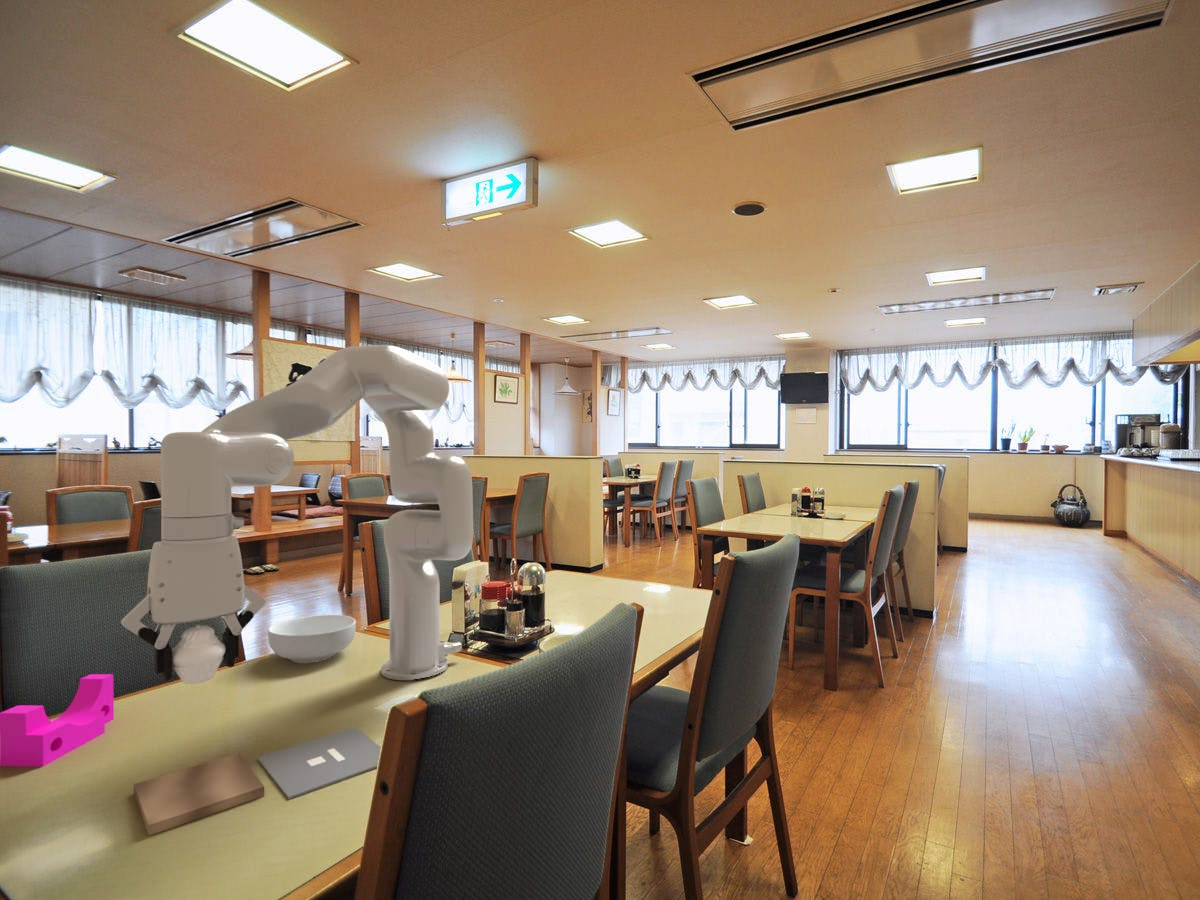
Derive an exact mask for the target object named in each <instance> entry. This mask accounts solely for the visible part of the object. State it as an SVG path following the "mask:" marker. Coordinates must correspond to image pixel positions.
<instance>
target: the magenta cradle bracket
mask: <svg viewBox="0 0 1200 900" xmlns="http://www.w3.org/2000/svg"><path fill="white" fill-rule="evenodd" d="M114 693H115V692H114V674H109V673H107V674H104V673H103V674H99V673H98V674H97V673H95V674H93V673H91V674H89V675H86V676H83V677H81V678H80V679H79V684H78V689H77V691H76V695H75V696H74V698H73V700H72V701H71V703H70V705H69V706H68V707H67V708H66V709H65V711H64V712H63V713H62V714H61V715H60V716H58V717H56V718H55V719H54V720H51V719H50V718H49V717H48V716H47V714H46V711H45V709H44V708H45V707H44V705H35V704H34V705H27V704H26V705H21V704H20V705H19V704H18V705H15V706H14V707H11V708H8V709H5V710H4V711H1V712H0V767H1V766H2V767H41V766H44V767H45V766H47V765H49V764H50V763H52V762H54V761H56V760H59V758H62V757H64V756H65V755H67V754H69V753H71V752H72V751H74V750H76V749H78V748H80V747H82V746H83V745H86V744H87V743H89V742H90V741H93V740H95V739H96V738H98V737H100V736H102V735H103V733H104V734H105V733H106V725H107V724H108V723H110V722H112V721H113V719H114V720H115V718H114V717H115V715H114V714H115V711H114V710H115V709H114V707H115V706H114V703H115V702H114V695H115V694H114ZM111 720H112V721H111ZM94 738H95V739H94ZM81 745H82V746H81Z"/></svg>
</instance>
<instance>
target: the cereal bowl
mask: <svg viewBox="0 0 1200 900" xmlns="http://www.w3.org/2000/svg"><path fill="white" fill-rule="evenodd" d="M356 626H357V622H356V619H355V618H354V617H352V616H348V615H343V614H320V615H319V614H318V615H309V616H302V617H295V618H291V619H288V620H284V621H281V622H280V621H279V622H277V623H275V624H272V625H271V626H269V628H268V630H267V639H268V644H269V647H270V649H271V650H272V652H273V653H275V654H276V655H277V656H279V657H281V658H285V659H288V660H291V661H292V662H293V661H294V662H293V663H296V664H312V663H311V662H314V663H318V662H317V661H320V662H322V661H321V660H324V659H327V658H329V659H331V658H332V657H333V656H334V655H335V654H338V653H339V652H341V651H344V650H345V649H346V648H347V647H349V646H350V644H351V643H352V642H353V640H354V638H355V634H356ZM331 656H332V657H331ZM330 657H331V658H330ZM327 660H328V659H327ZM324 661H325V660H324Z"/></svg>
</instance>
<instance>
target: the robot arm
mask: <svg viewBox="0 0 1200 900" xmlns="http://www.w3.org/2000/svg"><path fill="white" fill-rule="evenodd" d="M448 379H449V378H448V376H447V375H446V373H445V372H444V370H443V369H442V368H441V367H440V366H439V365H438V364H436V363H434V362H432V361H430V360H428V359H426V358H424V357H421V356H419V354H418V355H417V354H415V353H413V352H412V351H409V350H407V349H404V348H402V347H400V346H396V345H392V344H376V345H375V344H374V345H371V344H370V345H357V346H356V345H355V346H348V347H344V348H341V349H338V350H336V351H335V352H333V353H332V354H330V355H329V356H328V357H326V358H325V359H324V360H322V361H321V362H319V363H318V364H317V365H316V366H314V367H313V368H312V369H311V370H309V371H308V372H307V373H305V374H304V375H302V376H301V377H300V378H299V379H297V380H296V381H294V382H293V383H291V384H289V385H287V386H285V387H282V388H279V389H277V390H275V391H273V392H271V393H269V394H266V395H263V396H261V397H259V398H257V399H254V400H252V401H249V402H247V403H245V404H242V405H241V406H239V407H236V408H235V409H232V410H230V411H229V412H227V413H226V414H224V415H222V416H221V417H219V418H218V419H216V420H215V421H214V422H212V423H211V424H210V425H208V426H207V427H206V428H204V429H202V430H201V431H176V432H171V433H168V434H166V435H164V436H163V438H162V440H161V444H160V482H161V483H160V494H161V495H160V500H161V501H160V502H161V508H160V509H161V510H160V511H161V515H160V516H161V522H160V523H161V525H160V526H161V527H160V528H161V529H160V530H161V531H160V533H161V534H160V535H161V536H160V537H161V539H160V540H161V541H155V542H154V543H153V545H152V547H151V548H152V550H151V552H150V559H149V565H148V566H149V567H148V572H147V573H148V576H147V592H146V596H145V597H144V598H143V599H141V601H139V602H138V603H137V604H136V605H135V607H134V608H132V609H131V610H130V611H129V612H128V613H127V614H126V615H125V616H123V618H121V622H120V623H121V625H122V627H124V628H125V629H126V630H128V631H130V632H131V633H133V634H135V635H136V636H137V637H139V638H140V639H142V640H144V641H145V642H147V643H148V644H149V645H151V646H152V647H154V673H155V674H156V675H159V674H160V677H161V678H162V679H163V681H164V682H169V681H171V679H172V678H173V667H172V649H173V648H172V647H171V646H170V642H169V640H170V638H171V636H172V634H173V631H174V629H175V626H176V625H178V624H184V623H185V624H186V623H190V622H191V623H192V622H198V621H203V620H204V621H205V620H209V619H215V618H221V620H222V622H223V624H224V626H225V629H224V631H223V633H222V634H221V639H222V640H221V641H222V642H223V643H224V644H225V646H226V651H225V654H224V655H223V660H222V663H223V664H224V665H225V666H226V667H227V668H234V667H235V659H236V658H239V657H240V654H239V653H240V640H239V639H240V636H239V635H240V634H242V632H243V629H244V628H245V627H246V626H247V625H248V624H249V623H250V622H251V621H252V620H253V619H254V616H255V615H257V614H258V612H259V611H260V610H261V609H263V608H264V606H265V605H266V602H267V601H266V599H265V598H264V597H262V596H260V594H258V592H255V591H254V589H251V588H250V587H249V586H248V585H246V584H245V577H244V568H243V561H242V560H243V559H242V554H241V548H240V544H239V540H238V537H237V536H235V535H233V534H234V531H235V530H236V529H239V528H243V527H245V518H244V517H241V516H240V517H238V516H234V514H233V513H232V486H240V487H266V486H271V485H275V484H278V483H280V482H281V481H283V480H285V478H286V477H288V476H289V474H290V473H291V471H292V469H293V467H294V463H295V453H294V450H293V448H292V446H291V445H290V444H289V442H288V441H287V440H292V439H296V438H300V437H301V438H302V437H307V436H309V435H312V434H316V433H319V432H322V431H324V430H327V429H328V428H330V427H332V426H333V425H334V424H336V422H338V421H339V420H340V419H341V418H342V417H344V416H345V414H346V413H348V412H349V411H350V410H351V409H352V408H354V406H355V405H356V404H358V403H359V402H360V401H361V400H362V399H363V400H364V402H365V404H367V405H368V406H369V407H370V408H371V410H373V411H374V412H375V413H376V414H377V416H378V417H379V418H380V419H381V421H382V422H383V424H384V427H385V428H386V432H387V437H388V447H389V449H388V455H389V483H390V489H391V493H392V496H393V497H394V499H396V500H397V501H398V502H402V503H406V504H407V503H408V504H423V505H424V504H425V505H429V504H430V505H438V506H439V510H433V509H432V510H431V509H405V510H401V511H397V512H395V513H394V514H392V515H390V517H389V518H388V519H387V520H386V523H385V525H384V527H383V544H384V549H385V552H386V553H385V554H386V558H387V563H388V564H387V565H388V573H389V575H388V577H389V580H388V582H389V590H388V591H389V605H388V606H389V608H388V609H389V660H386V662H384V663H383V664H382V665H381V675H382V676H383V677H385V678H387V679H389V680H393V681H394V680H395V681H415V680H414V679H419V680H421V679H420V678H424V677H428V676H432V675H436V674H438V675H440V674H442V673H444V672H445V671H446V670H447V669H448V665H449V664H448V663H449V661H448V659H447V656H449V654H454V653H458V652H461V651H462V650H463V645H462V643H461V642H460V641H456V642H453V643H450V642H449V641H444V642H442V641H441V639H440V637H441V636H440V631H441V630H440V628H441V627H440V625H441V624H440V622H441V621H440V619H441V618H440V617H441V615H440V608H441V607H440V584H441V583H440V577H439V573H438V570H437V569H436V567H435V565H434V563H433V560H436V561H451V562H452V561H459V560H461V559H464V558H466V556H468V554H469V553H470V551H471V548H472V546H473V540H474V501H473V500H474V498H473V496H474V495H473V494H474V493H473V490H474V489H473V479H472V474H471V471H470V467H469V466H468V464H467V462H465V460H464V459H462V458H461V457H459V456H456V455H450V454H449V455H448V454H436V453H435V441H434V429H433V426H432V424H431V421H430V420H429V417H427V415H426V414H425V412H424V411H432V410H437V409H439V408H441V407H442V406H443V405H444V404H445V403H446V401H447V399H448V398H449V397H448V396H449V393H450V384H449V380H448ZM246 600H248V602H249V603H248V605H247V606H246V607H245V602H246ZM244 607H245V608H244ZM238 613H239V614H238ZM146 614H147V615H148V617H149V618H151V619H152V622H153V623H154V624H156V627H155V630H153V629H152V628H150V627H149V626H146V625H145V624H144V623H143V622H141V619H142V618H143V617H144V616H145V615H146ZM236 614H238V615H236ZM443 671H444V672H443ZM441 672H442V673H441ZM439 673H440V674H439ZM436 676H437V675H436ZM432 677H433V676H432Z"/></svg>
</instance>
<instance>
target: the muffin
mask: <svg viewBox="0 0 1200 900" xmlns="http://www.w3.org/2000/svg"><path fill="white" fill-rule="evenodd" d="M225 651H226V646H225V644H224V643H223V642H222V640H220V639H219V638H218V636H217V635H215V630H214V629H213V627H211V626H209V625H203V624H202V625H200V624H197V625H195V626H191V627H188V628H187V629H185V630H184V631H183V632H182V634H181V635H180V640H179V641H178V642H177V645H175V646H174V647H173V648H172V670H174V671H175V673H176V674H177V676H178V677H179V679H180V680H181V682H182V683H183V684H185V685H196V684H202V683H205V682H208V681H211V680H212V679H213V678H214V677H215V675H216V673H217V671H218V669H219V668H220V666H221V663H223V655H224V654H225Z"/></svg>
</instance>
